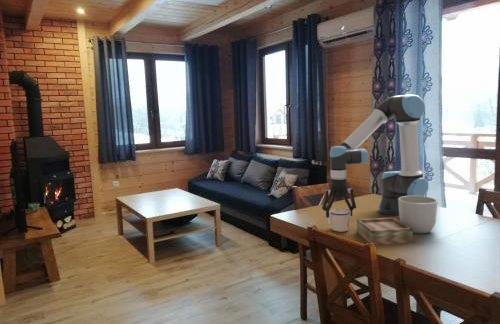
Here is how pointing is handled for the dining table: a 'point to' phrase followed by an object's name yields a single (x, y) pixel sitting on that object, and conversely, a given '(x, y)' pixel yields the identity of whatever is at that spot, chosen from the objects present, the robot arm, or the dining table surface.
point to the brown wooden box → (384, 231)
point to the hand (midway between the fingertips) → (339, 223)
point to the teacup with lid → (340, 219)
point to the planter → (418, 212)
